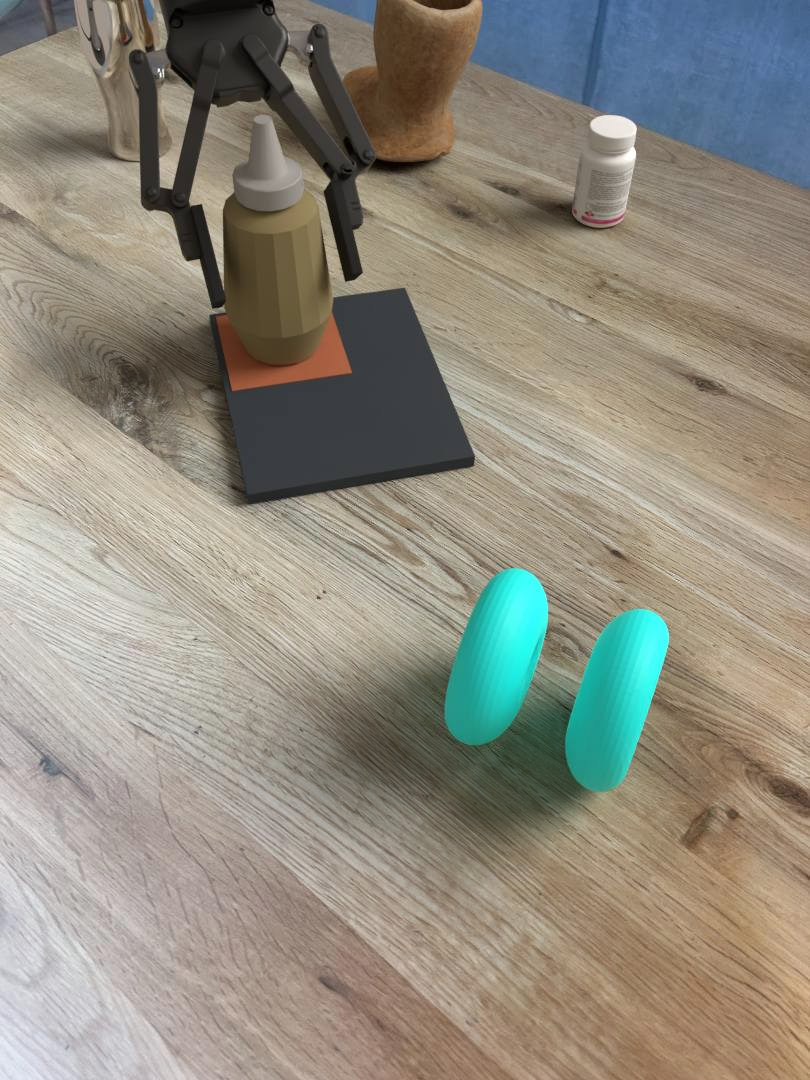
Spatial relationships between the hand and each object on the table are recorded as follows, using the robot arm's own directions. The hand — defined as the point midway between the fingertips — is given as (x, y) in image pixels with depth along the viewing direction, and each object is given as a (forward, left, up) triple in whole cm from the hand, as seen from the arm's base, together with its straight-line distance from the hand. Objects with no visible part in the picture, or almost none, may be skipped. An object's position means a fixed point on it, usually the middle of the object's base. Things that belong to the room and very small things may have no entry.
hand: (287, 290), depth 73 cm
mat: (+2, +3, -8) cm, 9 cm away
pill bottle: (-16, +31, -8) cm, 36 cm away
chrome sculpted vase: (-37, -8, -8) cm, 39 cm away
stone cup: (-34, +18, -8) cm, 39 cm away
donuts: (+33, +9, -8) cm, 35 cm away
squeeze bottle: (-3, 0, -7) cm, 8 cm away
